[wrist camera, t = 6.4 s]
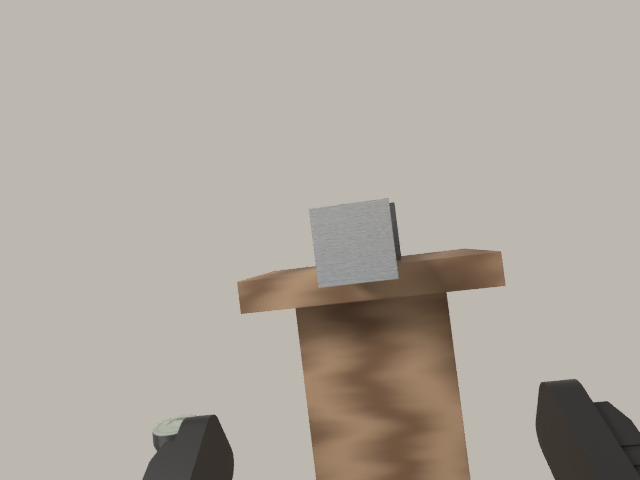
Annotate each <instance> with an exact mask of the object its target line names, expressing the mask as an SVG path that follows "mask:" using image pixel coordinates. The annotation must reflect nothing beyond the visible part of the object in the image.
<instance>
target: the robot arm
mask: <svg viewBox="0 0 640 480" xmlns="http://www.w3.org/2000/svg"><path fill="white" fill-rule="evenodd" d="M538 396H539V397H538V405H537V414H536V432H537V437H538V441H539V444H540V446H541V449H542V452H543V454H544V456H545V458H546V460H547V463H548V465H549V467H550V469H551V472H552V474H553V476H554V478H555V480H640V432H639V431H638V429H637V428H636V426H635V425H634V424H633V422H632V421H631V420H630V419H629V418H628V417H626V416H625V415H624V414H623V413H622V412H620V411H619V410H618V409H616V408H615V407H614V406H613V405H612V404H610V403H609V402H607V401H605V402H594V403H593V402H592V400H591V399H590V397H589V395H588V394H587V392H586V391H585V389H584V388H583V386H582V385H581V383H580V382H579V381H577V380H576V379H570V380H560V381H551V382H542V383H541V384H540V387H539V395H538ZM233 470H234V458H233V452H232V449H231V447H230V444H229V442H228V440H227V438H226V435H225V433H224V431H223V429H222V427H221V424H220V422H219V420H218V418H217V416H216V415H205V416H194V417H186V418H185V419H184V420H183V421H182V423H181V425H180V428H179V430H178V433H177V436H176V439H175V441H170V442H164V444H163V445H162V446H161V448H160V449H159V450H158V452H157V453H156V454H155V455H154V457H153V458H152V459H151V461H150V462H149V464H148V467H147V470H146V472H145V475H144V477H143V480H232V477H233Z"/></svg>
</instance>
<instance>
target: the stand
mask: <svg viewBox="0 0 640 480" xmlns="http://www.w3.org/2000/svg"><path fill="white" fill-rule="evenodd" d="M396 262H397V270H398V278H399V279H392V280H383V281H374V282H365V283H356V284H347V285H338V286H329V287H320V288H319V287H318V278H317V270H316V266H315V267H306V268H297V269H289V270H280V271H273V272H270V273H266V274H263V275H260V276H256V277H253V278H249V279H246V280H243V281H239V282H237V284H238V292H239V300H240V309H241V314H243V313H253V312H262V311H272V310H281V309H291V308H296V316H297V324H298V332H299V340H300V348H301V357H302V365H303V373H304V381H305V389H306V397H307V405H308V414H309V423H310V430H311V438H312V447H313V455H314V463H315V472H316V480H470V473H469V465H468V457H467V449H466V442H465V434H464V426H463V418H462V410H461V402H460V395H459V387H458V379H457V371H456V364H455V356H454V349H453V340H452V333H451V325H450V317H449V309H448V302H447V294H446V292H451V291H460V290H470V289H479V288H488V287H498V286H505V279H504V272H503V271H504V270H503V263H502V255H501V252H500V251H487V250H474V249H459V250H451V251H443V252H434V253H425V254H417V255H408V256H401V260H396Z"/></svg>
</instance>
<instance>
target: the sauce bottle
mask: <svg viewBox="0 0 640 480" xmlns="http://www.w3.org/2000/svg"><path fill="white" fill-rule="evenodd" d="M194 416H196V415H182V416H178V417H174V418H170V419H167V420H165V421H163V422H161V423H159V424H158V425H157V426H156V427H155V428H154V429H153V443H154V447H155V448H156V450H157V452H158V450H159V449H160V448H161V446H162V445H163V444H164V442H170V441H175V439H176V436H177V433H178V430H179V428H180V425H181V423H182V421H183V420H184V419H185V418H186V417H194Z"/></svg>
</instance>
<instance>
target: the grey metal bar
mask: <svg viewBox="0 0 640 480" xmlns="http://www.w3.org/2000/svg"><path fill="white" fill-rule="evenodd" d="M309 213H310V221H311V229H312V238H313V246H314V254H315V262H316V270H317V278H318V287H319V288H320V287H329V286H338V285H347V284H356V283H365V282H374V281H383V280H392V279H399V278H398V270H397V262H396V260H401V252H400V245H399V237H398V229H397V221H396V213H395V205H394V203H389V199H388V198H387V199H380V200H373V201H365V202H357V203H350V204H343V205H335V206H328V207H320V208H313V209H309Z"/></svg>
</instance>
